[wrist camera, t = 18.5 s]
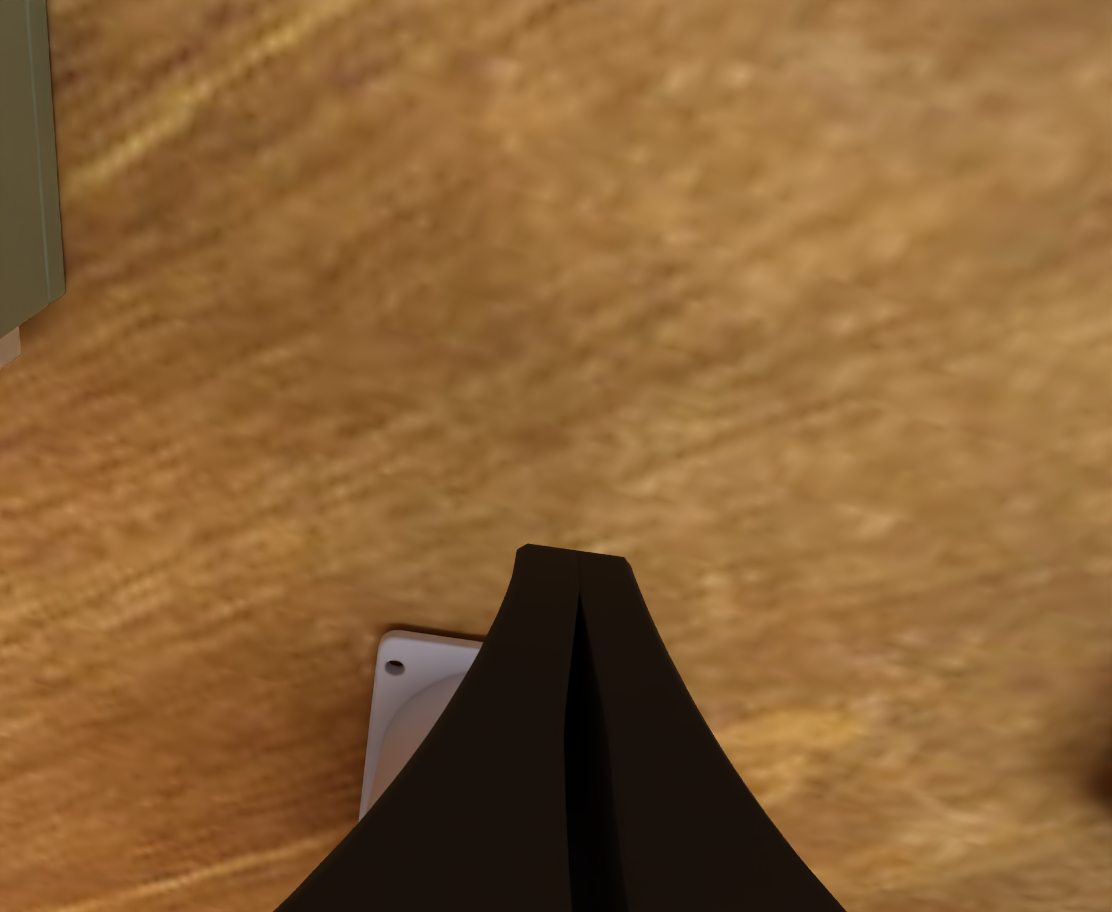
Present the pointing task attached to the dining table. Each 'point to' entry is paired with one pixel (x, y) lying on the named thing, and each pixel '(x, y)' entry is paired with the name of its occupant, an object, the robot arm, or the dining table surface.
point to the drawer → (9, 347)
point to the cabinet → (27, 168)
